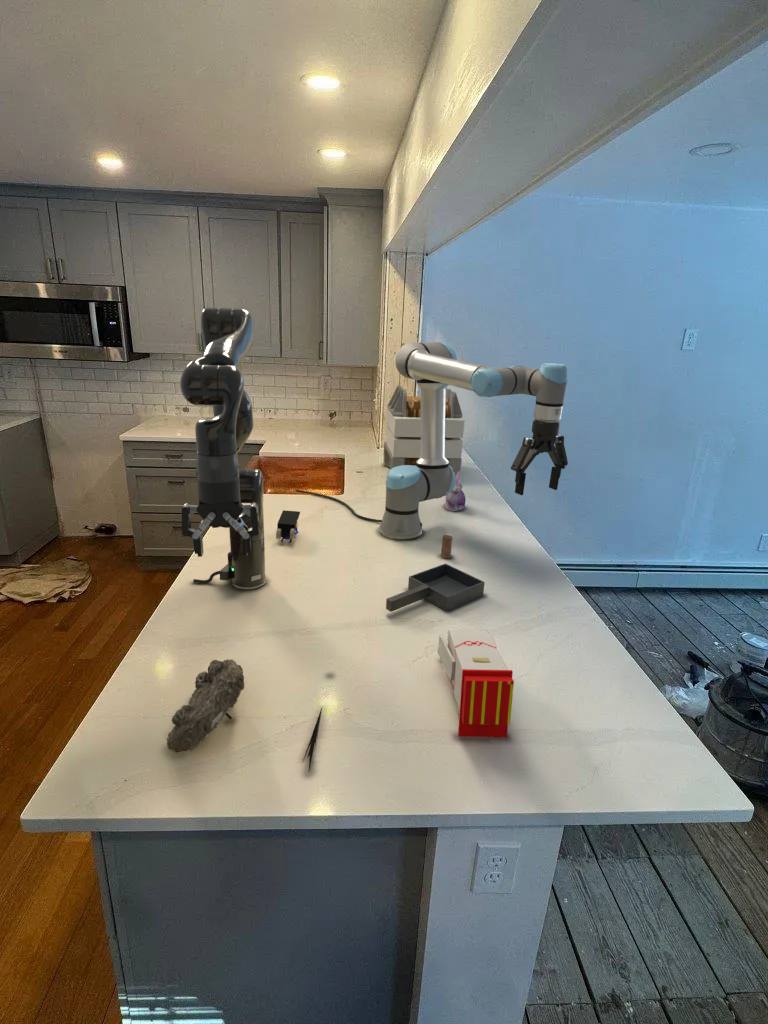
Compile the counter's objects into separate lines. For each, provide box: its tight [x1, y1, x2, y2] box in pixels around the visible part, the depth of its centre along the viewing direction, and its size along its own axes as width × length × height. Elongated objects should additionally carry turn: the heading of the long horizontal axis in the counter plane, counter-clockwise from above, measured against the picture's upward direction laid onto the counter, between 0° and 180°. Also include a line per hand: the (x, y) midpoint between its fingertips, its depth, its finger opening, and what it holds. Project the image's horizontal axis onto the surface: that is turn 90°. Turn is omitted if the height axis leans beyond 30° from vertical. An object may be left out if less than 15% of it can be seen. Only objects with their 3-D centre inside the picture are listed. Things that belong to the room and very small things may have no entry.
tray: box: [385, 563, 486, 613], centre depth 155 cm, size 29×15×4 cm, turn 131°
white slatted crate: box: [383, 384, 465, 476], centre depth 268 cm, size 34×33×41 cm
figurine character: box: [275, 509, 301, 544], centre depth 191 cm, size 7×8×15 cm
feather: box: [301, 673, 332, 771], centre depth 108 cm, size 2×28×2 cm
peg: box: [440, 534, 453, 559], centre depth 182 cm, size 3×3×7 cm
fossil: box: [166, 658, 245, 754], centre depth 106 cm, size 22×10×15 cm
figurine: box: [444, 470, 467, 512], centre depth 226 cm, size 9×10×15 cm
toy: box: [437, 628, 515, 738], centre depth 117 cm, size 12×13×30 cm
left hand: (223, 554), depth 111 cm, fingers open, 8 cm apart
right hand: (536, 491), depth 168 cm, fingers open, 13 cm apart
